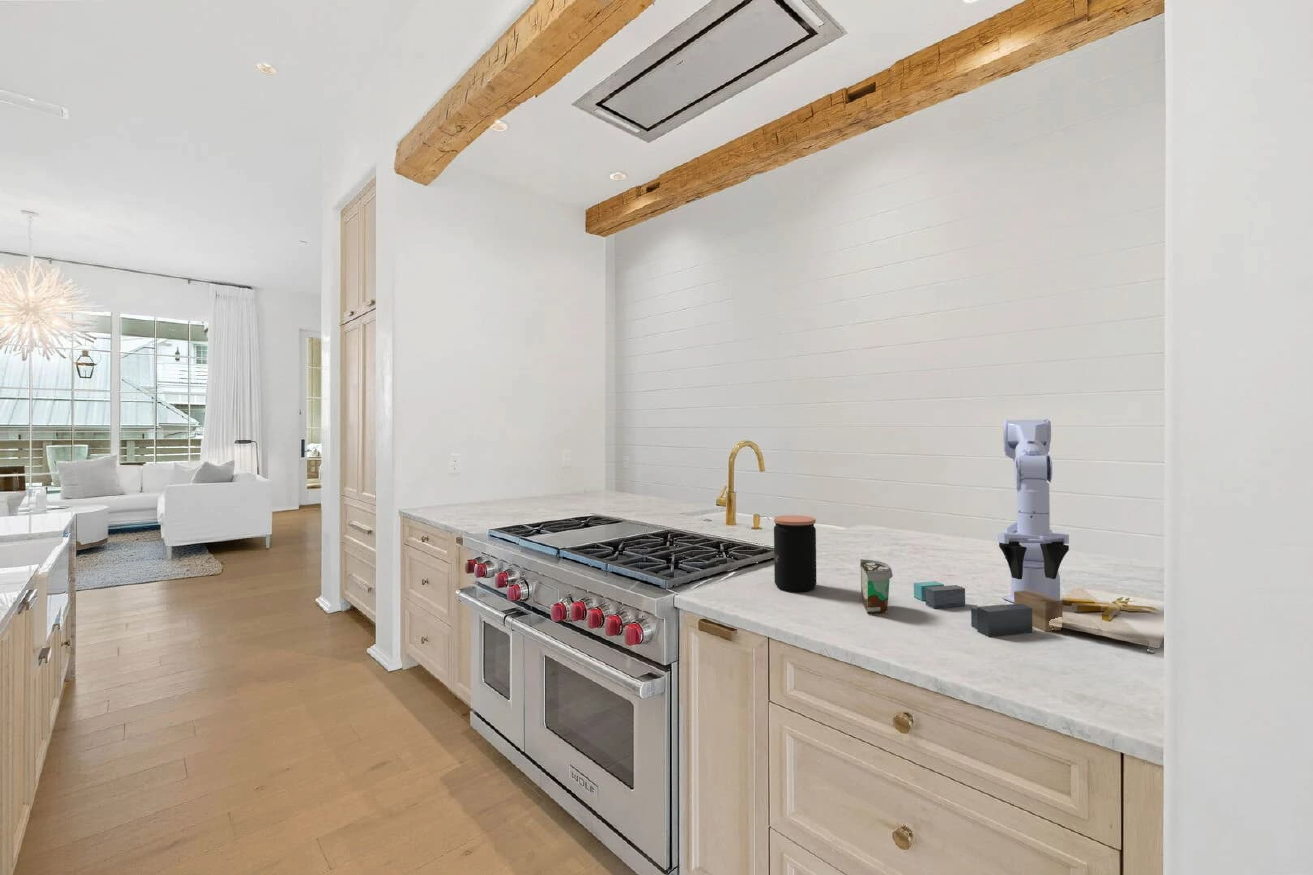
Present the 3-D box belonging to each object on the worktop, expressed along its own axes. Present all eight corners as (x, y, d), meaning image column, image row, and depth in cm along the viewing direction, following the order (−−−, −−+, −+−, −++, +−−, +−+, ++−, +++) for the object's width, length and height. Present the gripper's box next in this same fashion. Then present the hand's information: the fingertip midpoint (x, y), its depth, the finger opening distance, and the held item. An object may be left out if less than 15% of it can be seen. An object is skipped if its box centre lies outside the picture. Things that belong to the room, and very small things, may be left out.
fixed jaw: (1009, 623, 123) (1009, 599, 123) (1032, 632, 117) (1032, 608, 117) (966, 626, 122) (966, 602, 121) (988, 636, 116) (988, 611, 116)
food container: (898, 618, 128) (897, 572, 127) (868, 616, 129) (868, 571, 129) (887, 601, 140) (887, 559, 140) (860, 600, 141) (860, 558, 141)
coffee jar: (784, 579, 160) (783, 514, 160) (822, 585, 154) (821, 517, 154) (767, 589, 152) (766, 519, 151) (807, 595, 146) (806, 523, 145)
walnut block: (1030, 618, 127) (1030, 590, 126) (1062, 630, 119) (1062, 601, 119) (1014, 619, 126) (1014, 591, 126) (1045, 632, 118) (1045, 602, 118)
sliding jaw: (939, 594, 144) (939, 578, 144) (965, 605, 135) (965, 588, 135) (910, 597, 142) (909, 580, 142) (933, 608, 134) (933, 590, 133)
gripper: (1014, 514, 118) (1015, 582, 117) (1080, 514, 120) (1081, 582, 119) (991, 511, 125) (991, 575, 124) (1053, 511, 127) (1054, 575, 126)
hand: (1033, 578), depth 122 cm, fingers open, 7 cm apart
